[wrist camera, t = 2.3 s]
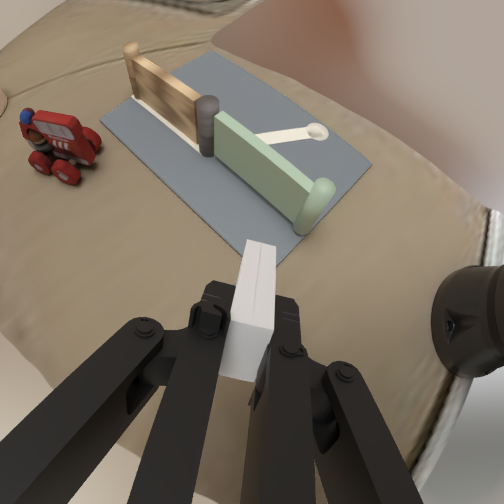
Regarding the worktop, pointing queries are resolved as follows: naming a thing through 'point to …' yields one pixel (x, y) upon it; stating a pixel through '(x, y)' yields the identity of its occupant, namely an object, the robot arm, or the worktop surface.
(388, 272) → the worktop surface
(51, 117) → the toy fire truck
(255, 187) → the hinged fence panel
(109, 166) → the worktop surface
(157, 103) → the fixed fence panel
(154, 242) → the worktop surface
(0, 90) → the teacup with lid
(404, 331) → the worktop surface
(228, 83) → the card
